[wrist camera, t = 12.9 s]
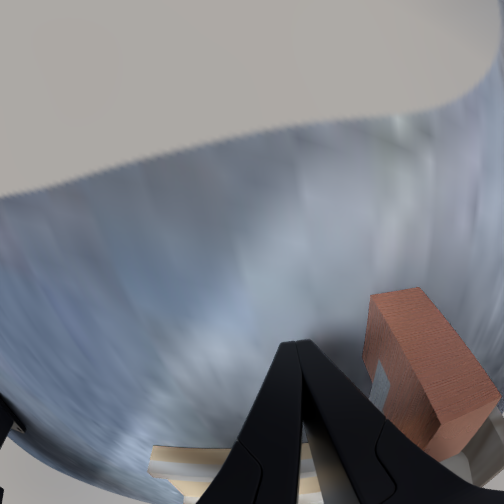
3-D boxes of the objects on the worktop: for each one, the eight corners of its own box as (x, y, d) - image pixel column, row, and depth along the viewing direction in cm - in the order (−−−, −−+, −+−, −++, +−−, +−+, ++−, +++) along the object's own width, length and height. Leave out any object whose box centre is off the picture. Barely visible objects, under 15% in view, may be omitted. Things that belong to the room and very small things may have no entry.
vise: (189, 488, 16) (182, 547, 11) (153, 445, 13) (136, 526, 8) (450, 445, 15) (470, 495, 10) (488, 389, 12) (523, 449, 7)
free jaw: (326, 489, 14) (334, 543, 10) (364, 296, 8) (431, 427, 4) (355, 483, 14) (366, 536, 10) (424, 286, 8) (508, 392, 4)
